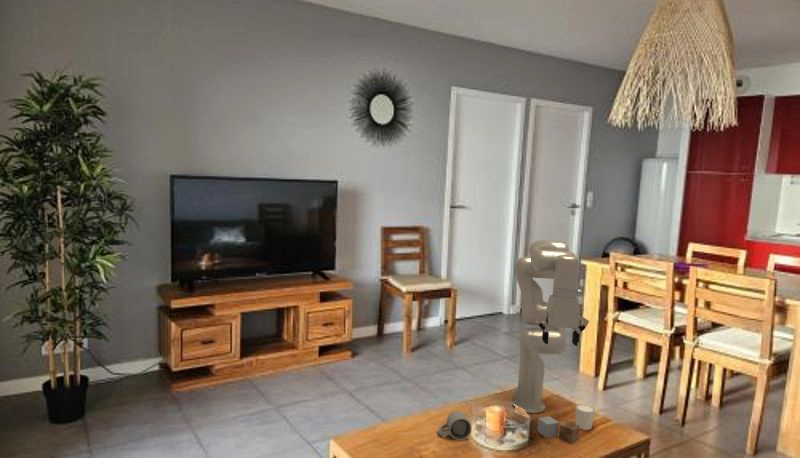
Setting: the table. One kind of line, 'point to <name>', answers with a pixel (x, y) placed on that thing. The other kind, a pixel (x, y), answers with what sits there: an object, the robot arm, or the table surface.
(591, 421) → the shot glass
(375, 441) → the table surface
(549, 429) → the slate block
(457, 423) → the ceramic mug
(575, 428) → the walnut block
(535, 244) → the robot arm
